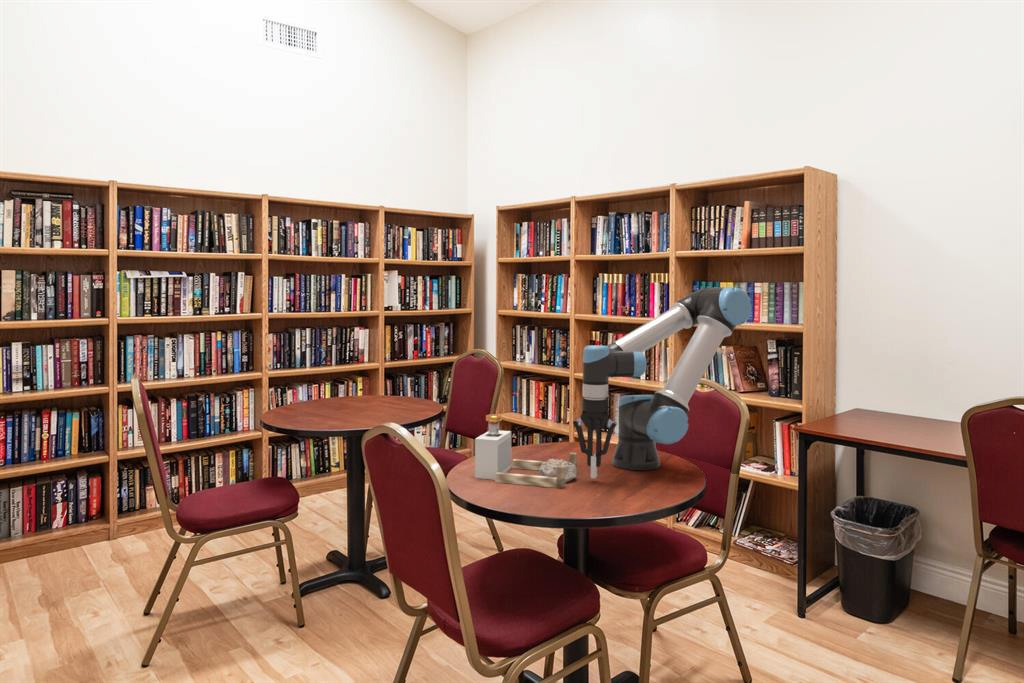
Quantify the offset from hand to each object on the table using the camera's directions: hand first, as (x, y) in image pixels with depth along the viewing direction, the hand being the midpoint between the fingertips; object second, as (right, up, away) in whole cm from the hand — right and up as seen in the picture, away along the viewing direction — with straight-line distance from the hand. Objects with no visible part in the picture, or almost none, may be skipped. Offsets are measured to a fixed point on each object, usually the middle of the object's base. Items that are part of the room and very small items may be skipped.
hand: (593, 476), depth 196 cm
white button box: (-30, -1, +9) cm, 31 cm away
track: (-17, -1, +5) cm, 17 cm away
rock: (-11, -2, +3) cm, 11 cm away
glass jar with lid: (-30, +9, +9) cm, 32 cm away
